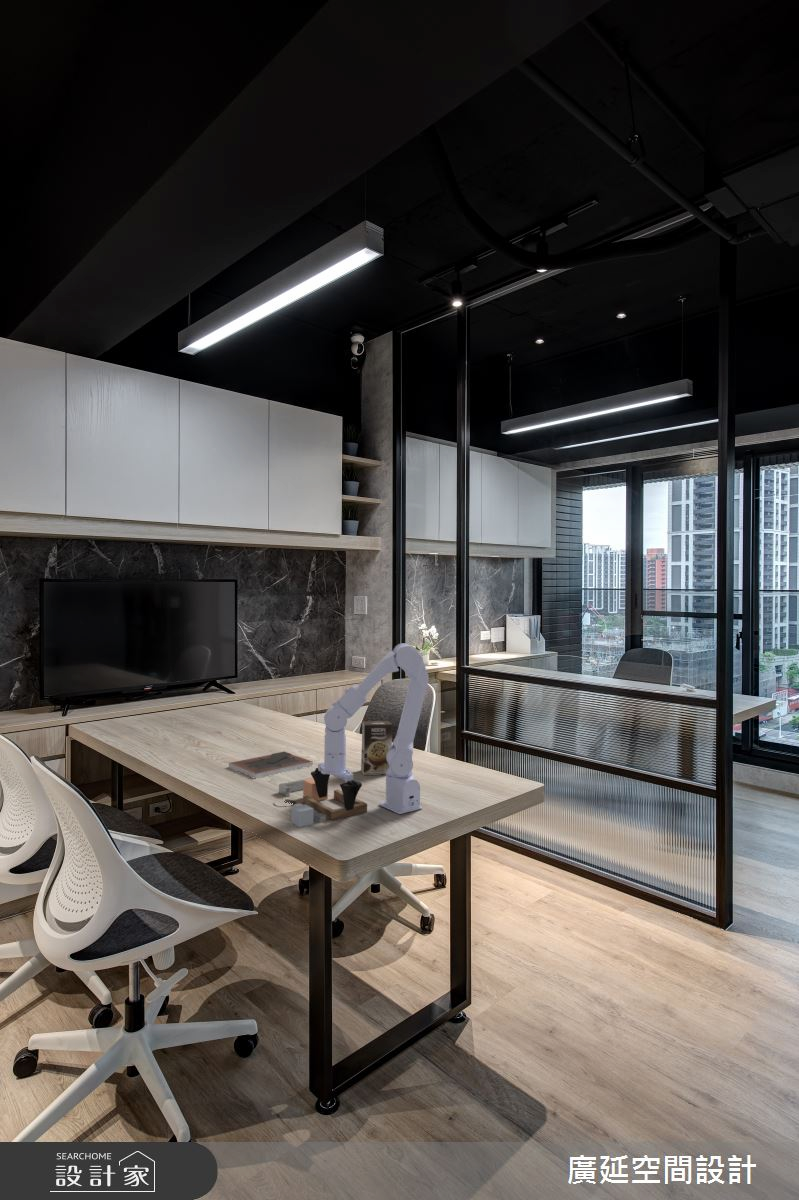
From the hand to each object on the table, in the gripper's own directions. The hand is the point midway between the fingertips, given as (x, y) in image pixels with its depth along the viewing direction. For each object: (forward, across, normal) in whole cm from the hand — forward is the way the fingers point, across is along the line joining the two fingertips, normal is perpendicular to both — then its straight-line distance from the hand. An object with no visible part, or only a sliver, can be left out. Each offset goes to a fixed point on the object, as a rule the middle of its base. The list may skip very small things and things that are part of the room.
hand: (335, 802), depth 175 cm
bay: (+2, 0, 0) cm, 2 cm away
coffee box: (+1, -21, +29) cm, 36 cm away
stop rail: (+1, -19, 0) cm, 19 cm away
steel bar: (+2, 0, -8) cm, 8 cm away
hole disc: (+1, -12, -9) cm, 15 cm away
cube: (+1, -10, 0) cm, 10 cm away
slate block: (+2, +4, -12) cm, 13 cm away
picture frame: (+2, -46, +4) cm, 47 cm away
